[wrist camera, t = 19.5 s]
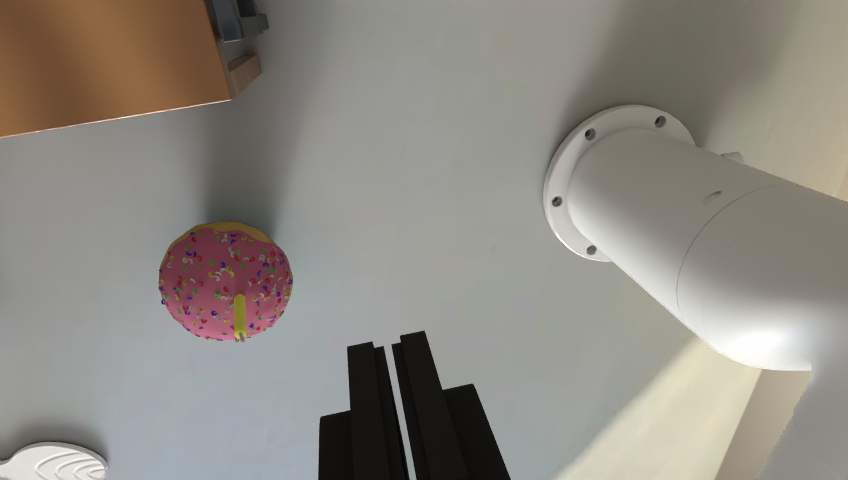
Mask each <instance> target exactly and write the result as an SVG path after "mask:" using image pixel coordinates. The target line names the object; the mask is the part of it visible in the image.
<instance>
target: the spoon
mask: <svg viewBox="0 0 848 480" xmlns="http://www.w3.org/2000/svg"><path fill="white" fill-rule="evenodd" d="M107 471H108V464H107V463H106V461H105V460H104V459H103V458H102V457H101V456H99V455H98V454H97V453H95V452H93V451H91V450H88V449H86V448H83V447H80V446H76V445H73V444H67V443H61V442H41V443H36V444H31V445H27V446H26V447H23V448H22V449H20V450H18V451H17V452H16V453H15V454H14V455H13V456H12V457H11V458H9V459H8V460H3V461H0V478H3V479H4V478H6V479H9V480H103V478H104V477H105V475H106V473H107Z"/></svg>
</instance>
